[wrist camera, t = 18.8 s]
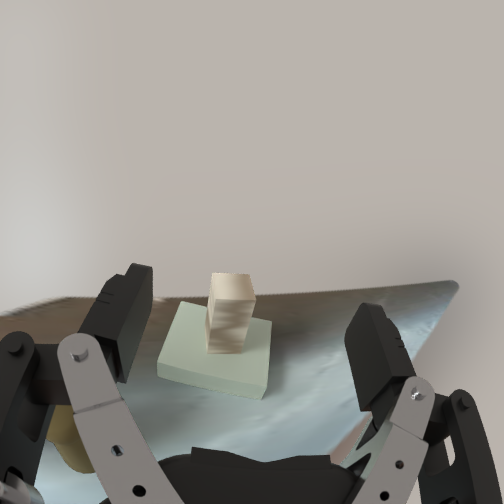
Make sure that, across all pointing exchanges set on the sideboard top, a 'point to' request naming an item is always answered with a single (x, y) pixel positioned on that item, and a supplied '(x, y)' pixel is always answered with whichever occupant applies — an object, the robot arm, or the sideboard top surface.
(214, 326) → the maple block
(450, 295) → the sideboard top surface
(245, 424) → the sideboard top surface
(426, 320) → the sideboard top surface
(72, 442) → the brown rounded piece
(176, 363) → the sage block
